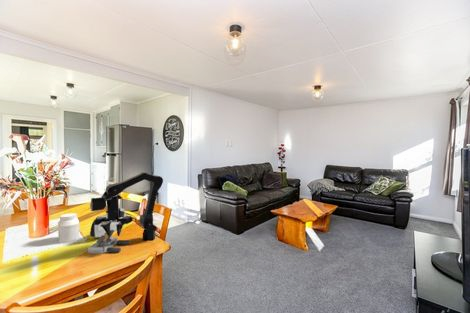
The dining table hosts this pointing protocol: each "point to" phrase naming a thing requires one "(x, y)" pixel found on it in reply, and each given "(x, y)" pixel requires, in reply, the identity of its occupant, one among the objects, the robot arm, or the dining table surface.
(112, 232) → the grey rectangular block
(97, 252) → the strip
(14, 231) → the dining table surface
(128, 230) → the dining table surface
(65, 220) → the jar
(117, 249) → the cable
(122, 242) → the cable
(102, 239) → the paddle
